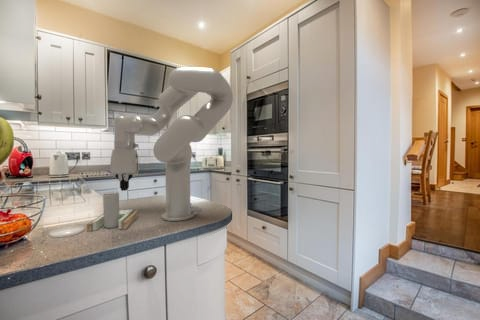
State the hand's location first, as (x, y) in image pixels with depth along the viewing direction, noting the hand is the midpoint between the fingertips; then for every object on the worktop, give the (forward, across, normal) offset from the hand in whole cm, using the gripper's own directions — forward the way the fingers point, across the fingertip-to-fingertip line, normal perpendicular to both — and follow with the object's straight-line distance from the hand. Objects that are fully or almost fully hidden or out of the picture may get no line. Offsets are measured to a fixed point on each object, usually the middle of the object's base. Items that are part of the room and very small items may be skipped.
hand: (124, 190), depth 96 cm
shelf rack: (+10, -1, +13) cm, 17 cm away
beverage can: (+10, -1, +16) cm, 19 cm away
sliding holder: (+10, -1, +13) cm, 17 cm away
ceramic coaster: (+10, +11, +20) cm, 25 cm away
